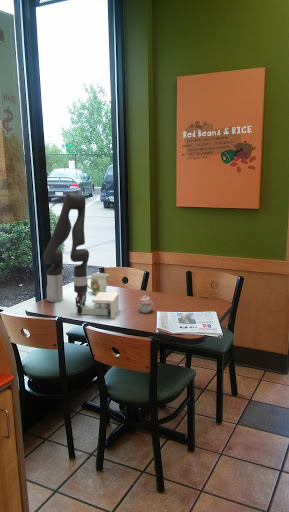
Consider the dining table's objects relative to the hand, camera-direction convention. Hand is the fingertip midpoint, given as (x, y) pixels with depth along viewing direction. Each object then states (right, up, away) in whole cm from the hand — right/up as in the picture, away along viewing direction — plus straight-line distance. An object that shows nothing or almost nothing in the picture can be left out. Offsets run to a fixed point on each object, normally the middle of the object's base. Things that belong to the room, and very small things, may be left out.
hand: (81, 311), depth 240 cm
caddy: (+7, -1, -1) cm, 7 cm away
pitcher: (+5, +7, +40) cm, 41 cm away
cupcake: (+37, -1, +3) cm, 37 cm away
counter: (+15, -1, -1) cm, 15 cm away
